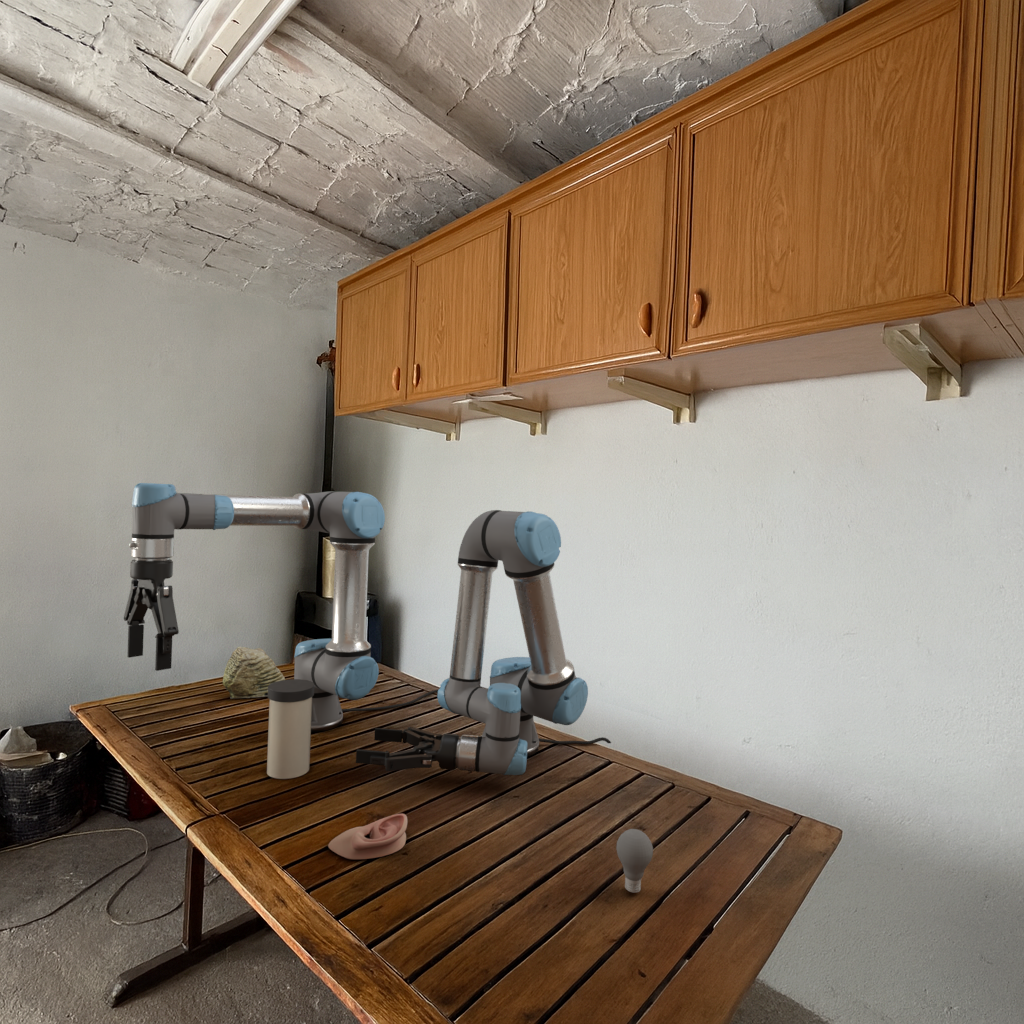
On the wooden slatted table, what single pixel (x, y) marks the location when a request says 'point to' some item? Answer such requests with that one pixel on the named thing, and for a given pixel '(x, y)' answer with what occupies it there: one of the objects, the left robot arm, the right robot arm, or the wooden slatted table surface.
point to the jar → (289, 738)
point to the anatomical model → (372, 839)
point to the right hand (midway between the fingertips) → (366, 744)
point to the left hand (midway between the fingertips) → (148, 662)
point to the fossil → (250, 673)
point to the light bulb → (634, 857)
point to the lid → (290, 690)
